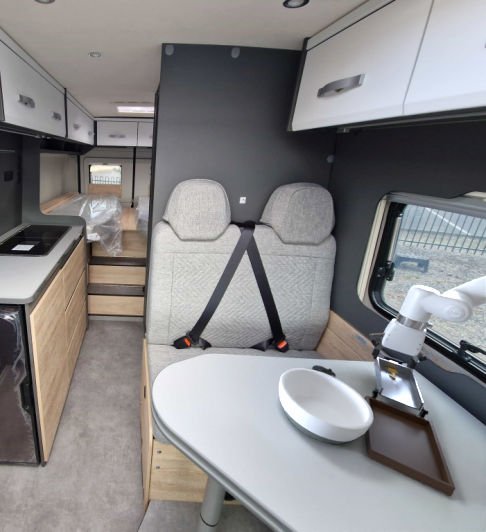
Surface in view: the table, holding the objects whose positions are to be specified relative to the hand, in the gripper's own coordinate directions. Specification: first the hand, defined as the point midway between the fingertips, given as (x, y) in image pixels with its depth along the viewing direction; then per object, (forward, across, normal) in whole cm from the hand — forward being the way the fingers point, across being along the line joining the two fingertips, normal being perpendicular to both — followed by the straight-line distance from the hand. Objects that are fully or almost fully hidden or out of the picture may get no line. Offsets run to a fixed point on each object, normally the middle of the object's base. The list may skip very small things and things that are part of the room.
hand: (390, 363), depth 109 cm
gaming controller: (+5, +19, +20) cm, 28 cm away
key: (+1, 0, +6) cm, 6 cm away
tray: (+5, 0, +35) cm, 35 cm away
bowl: (+5, +20, +41) cm, 46 cm away
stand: (+5, 0, +22) cm, 22 cm away
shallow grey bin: (+1, 0, +11) cm, 11 cm away
